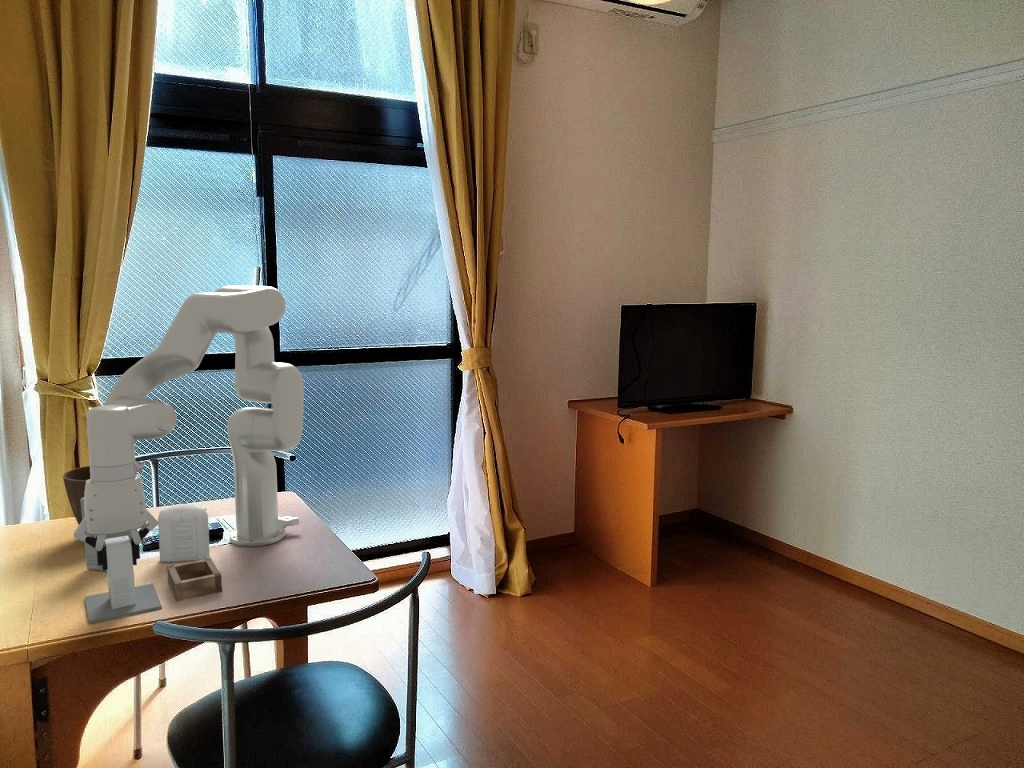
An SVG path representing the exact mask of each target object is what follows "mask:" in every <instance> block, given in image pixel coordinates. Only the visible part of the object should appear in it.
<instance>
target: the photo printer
mask: <svg viewBox="0 0 1024 768" xmlns="http://www.w3.org/2000/svg"><path fill="white" fill-rule="evenodd" d="M158 513H159V514H158V516H157V521H158V523H159V524H158V526H157V527H158V543H159V544H158V547H159V549H158V551H159V560H160V562H161V563H166V562H182V561H197V560H203V559H208V558H210V556H211V555H210V554H211V553H210V531H209V530H210V529H209V514H208V512H207V507H205V506H203V505H199V504H198V505H197V504H190V503H189V504H188V503H187V504H186V503H184V504H183V503H182V504H175V505H169V506H167V507H163V508H162V509H160V510H159V512H158Z"/></svg>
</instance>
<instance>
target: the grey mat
mask: <svg viewBox="0 0 1024 768" xmlns="http://www.w3.org/2000/svg"><path fill="white" fill-rule="evenodd" d="M135 594H136V604H135V605H131V606H126V607H122V608H117V609H112V606H111V602H110V598H109V591H108V592H101V593H97V594H91V595H87V596H84V602H85V607H86V612H87V613H86V614H87V618H88V619H87V621H88V624H89V625H90V624H91V625H92V624H95V623H100V622H105V621H108V620H114V619H118V618H119V619H120V618H123V617H128V616H132V615H137V614H142V613H146V612H147V613H148V612H150V611H151V612H152V611H156V610H160V609H163V606H162V602H161V601H160V598H159V596H158V593H157V590H156V588H155V586H154V583H148V584H143V585H138V586H135Z"/></svg>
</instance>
